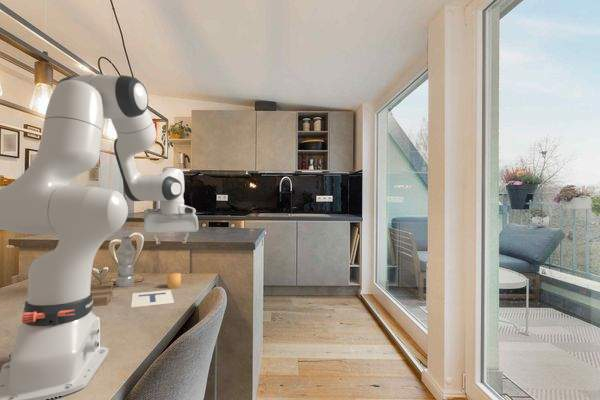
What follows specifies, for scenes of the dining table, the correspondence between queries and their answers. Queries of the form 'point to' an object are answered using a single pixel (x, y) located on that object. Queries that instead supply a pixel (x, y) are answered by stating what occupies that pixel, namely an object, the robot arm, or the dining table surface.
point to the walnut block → (101, 297)
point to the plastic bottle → (125, 263)
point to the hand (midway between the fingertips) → (171, 243)
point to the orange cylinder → (174, 280)
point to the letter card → (151, 298)
